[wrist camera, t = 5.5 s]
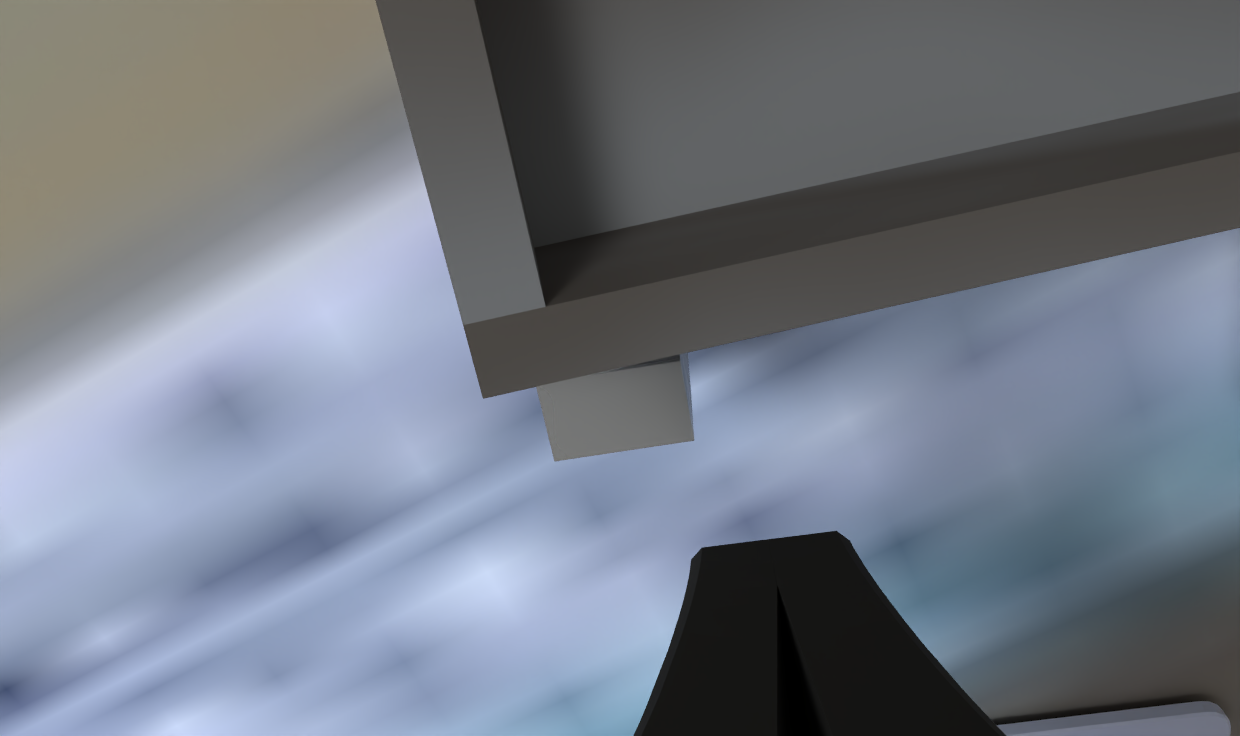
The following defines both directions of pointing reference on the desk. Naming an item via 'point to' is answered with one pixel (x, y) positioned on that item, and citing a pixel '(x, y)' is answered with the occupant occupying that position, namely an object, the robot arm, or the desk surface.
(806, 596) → the robot arm
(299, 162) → the desk surface
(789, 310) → the chute lever
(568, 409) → the chute stand
